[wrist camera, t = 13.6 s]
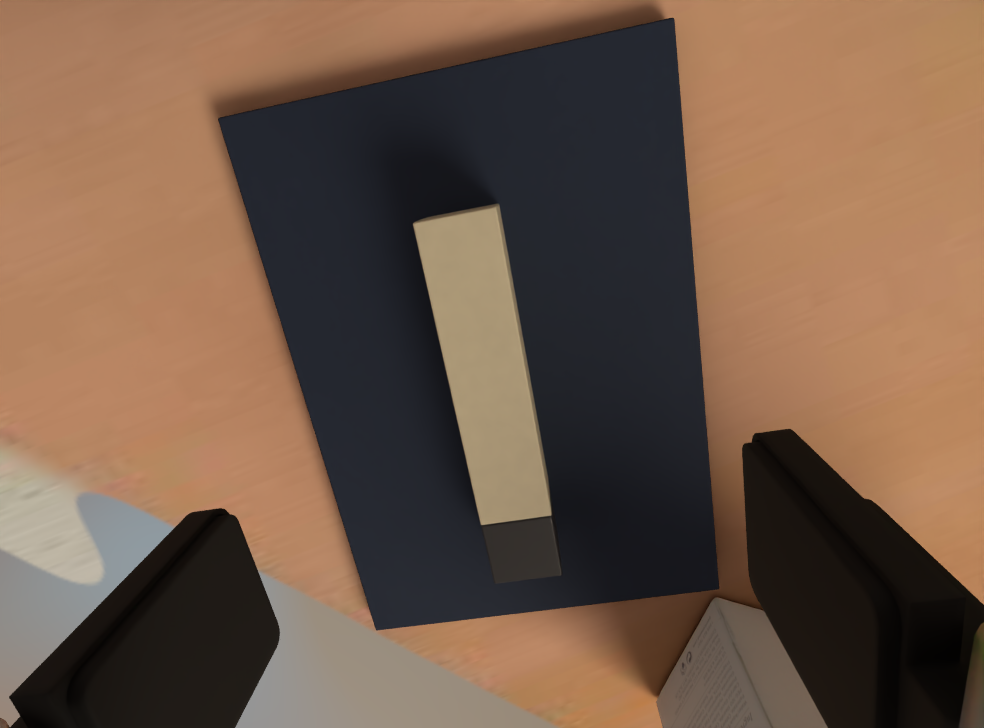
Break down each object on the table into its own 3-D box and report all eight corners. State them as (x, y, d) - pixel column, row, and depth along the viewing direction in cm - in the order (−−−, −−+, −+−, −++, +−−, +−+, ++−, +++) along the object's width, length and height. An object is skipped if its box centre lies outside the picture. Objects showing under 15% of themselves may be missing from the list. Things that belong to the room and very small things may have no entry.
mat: (226, 119, 18) (216, 117, 17) (669, 22, 17) (674, 16, 16) (379, 620, 24) (375, 631, 23) (714, 579, 22) (720, 590, 22)
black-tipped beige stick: (425, 217, 18) (412, 222, 16) (498, 203, 18) (496, 206, 15) (496, 542, 22) (494, 584, 19) (558, 533, 21) (563, 576, 19)
